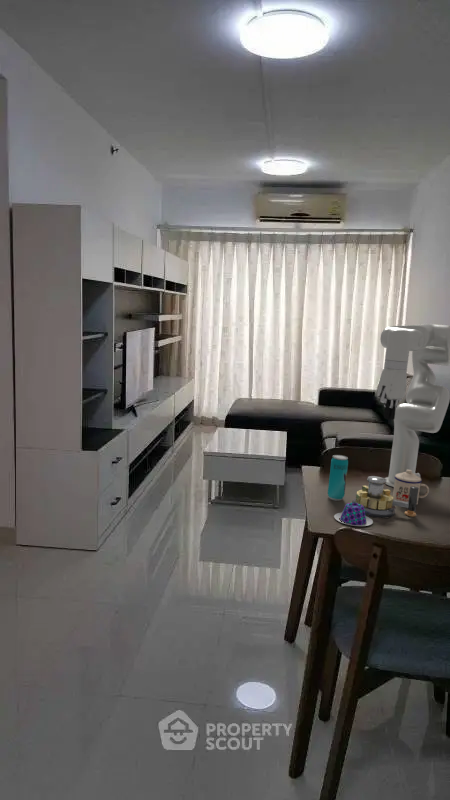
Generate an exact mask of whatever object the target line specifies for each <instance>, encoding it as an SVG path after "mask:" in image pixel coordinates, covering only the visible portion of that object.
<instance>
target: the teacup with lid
mask: <svg viewBox="0 0 450 800" xmlns="http://www.w3.org/2000/svg"><path fill="white" fill-rule="evenodd" d="M411 486H415V487H418V488H419V489H418V497H417V504H416V506H417V505H418V504H419V499H424V498H426V497H427V496H428V495H429V492H430V488H429V486H428V485H427V484H425V483H422V477H421V476H420V477H418V476H416V475H415V474H414V473H412V470H406V472H403V473H399V474H396V475H395V484H394V487H393V492H392V496H393V500H398V501H403V502H408V500H409V493H410V487H411ZM421 487H423V488H424V487H425V489H426V492H425V493H424V494H422V495H420V490H421Z"/></svg>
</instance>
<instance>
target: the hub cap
mask: <svg viewBox="0 0 450 800" xmlns="http://www.w3.org/2000/svg"><path fill="white" fill-rule="evenodd" d="M366 480H367V481H368V485H367V486H368V496H367V497H370V498H375V499H381V495H383V490H384V487H385V485H386V484H385V483H386V479H385V477H380V476H375V475H371V476H367V479H366ZM351 503H357V502H356V498H354V499H352V501H351ZM363 507H364V506H363ZM364 508H365V515H366V516H367V517H369V518H378V519H380V518H381V519H387V518H392V517H394V516H395V514H396V506H394V505H392V508H390V509H385V510H382V509H377V508H376V509H372V508H368V507H364Z"/></svg>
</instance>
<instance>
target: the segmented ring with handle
mask: <svg viewBox="0 0 450 800" xmlns="http://www.w3.org/2000/svg"><path fill="white" fill-rule="evenodd" d="M368 486H369V485H362V486H361V489H359V490H357V491H356V494H355V499H356V502H357V503H358V504H360V505H363V506H364V507H368V508H372V509H376V508H377V509H382V510H385V509H390V508H392V505H394V506H395V507H401V508H406V509H407V511H408V510H410V511H414V512H416V510H417V505H418V504H417V497H418V489H419V488H418V487H415V486H411V487H410V493H409V500H408V502H403V501H398V500H393V494H391V492H392V490H390V489H388V488H387V489H385V488H384V489H383V495H381V499H375V498H370V497H367V496H368ZM416 504H417V505H416Z"/></svg>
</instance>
